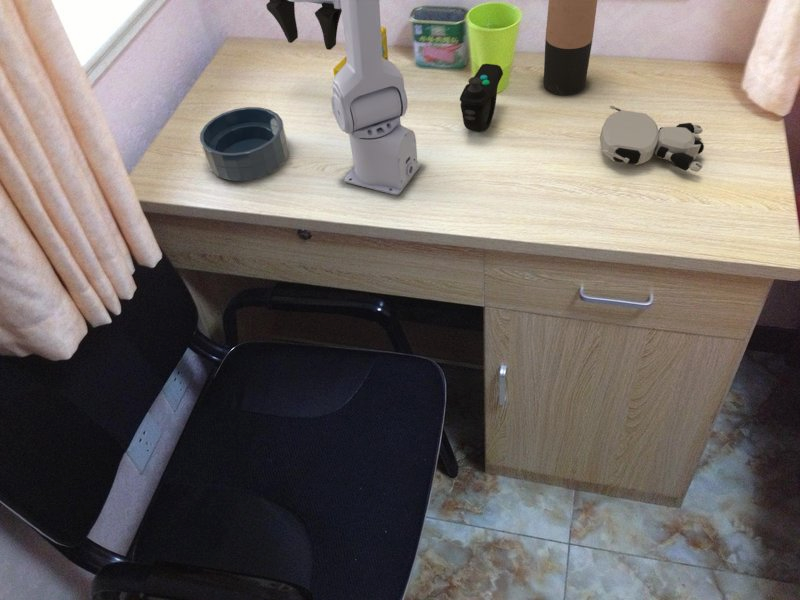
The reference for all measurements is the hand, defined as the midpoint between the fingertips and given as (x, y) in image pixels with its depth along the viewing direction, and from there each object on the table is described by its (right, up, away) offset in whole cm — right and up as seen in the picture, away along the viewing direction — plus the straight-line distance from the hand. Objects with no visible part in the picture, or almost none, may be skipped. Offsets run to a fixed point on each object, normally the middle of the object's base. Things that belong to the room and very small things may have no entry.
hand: (312, 43), depth 116 cm
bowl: (-10, -20, -3) cm, 23 cm away
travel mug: (+44, -6, +4) cm, 44 cm away
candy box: (+9, -5, +9) cm, 13 cm away
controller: (+28, -14, -2) cm, 32 cm away
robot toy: (+53, -21, -11) cm, 58 cm away
